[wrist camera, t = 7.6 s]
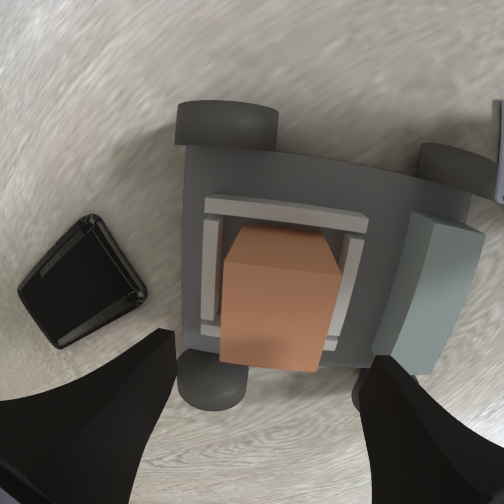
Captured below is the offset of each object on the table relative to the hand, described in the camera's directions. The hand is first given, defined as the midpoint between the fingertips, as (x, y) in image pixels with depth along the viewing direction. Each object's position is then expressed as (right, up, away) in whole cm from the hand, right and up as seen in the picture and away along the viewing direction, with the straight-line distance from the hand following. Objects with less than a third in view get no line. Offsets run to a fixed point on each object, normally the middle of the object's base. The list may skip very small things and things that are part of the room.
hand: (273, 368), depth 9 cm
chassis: (+4, +3, +9) cm, 10 cm away
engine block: (+1, +3, +8) cm, 8 cm away
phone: (-16, +1, +12) cm, 20 cm away
